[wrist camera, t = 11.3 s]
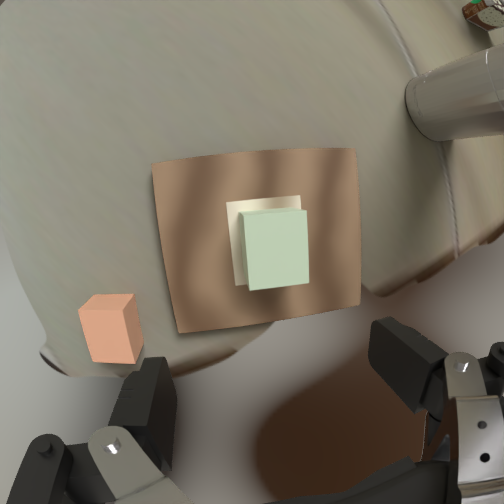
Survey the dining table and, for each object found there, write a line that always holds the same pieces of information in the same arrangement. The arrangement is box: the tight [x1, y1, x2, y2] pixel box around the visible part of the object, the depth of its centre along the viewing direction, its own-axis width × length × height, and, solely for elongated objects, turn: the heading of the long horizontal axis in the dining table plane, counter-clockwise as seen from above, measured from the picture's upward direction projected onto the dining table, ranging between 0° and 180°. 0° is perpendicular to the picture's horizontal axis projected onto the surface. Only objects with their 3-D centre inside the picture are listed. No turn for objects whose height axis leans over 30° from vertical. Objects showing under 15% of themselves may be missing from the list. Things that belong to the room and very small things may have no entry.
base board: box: [152, 148, 361, 333], centre depth 27 cm, size 20×17×2 cm
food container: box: [462, 0, 504, 31], centre depth 18 cm, size 12×6×10 cm, turn 102°
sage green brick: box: [239, 207, 309, 291], centre depth 24 cm, size 5×6×4 cm
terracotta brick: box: [78, 294, 144, 364], centre depth 26 cm, size 5×6×4 cm
